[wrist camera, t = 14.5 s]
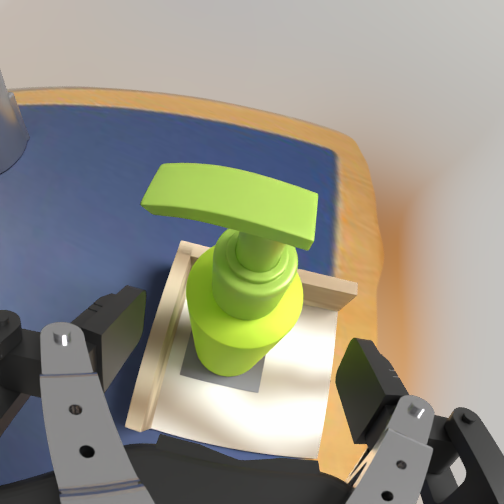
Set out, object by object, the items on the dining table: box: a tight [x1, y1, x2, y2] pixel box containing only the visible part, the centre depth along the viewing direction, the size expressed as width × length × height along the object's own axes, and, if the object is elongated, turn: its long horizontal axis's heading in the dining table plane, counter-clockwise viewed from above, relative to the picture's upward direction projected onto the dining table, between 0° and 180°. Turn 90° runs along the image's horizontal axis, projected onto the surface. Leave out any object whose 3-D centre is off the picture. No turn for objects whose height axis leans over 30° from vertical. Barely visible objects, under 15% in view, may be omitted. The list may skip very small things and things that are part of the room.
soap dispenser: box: [140, 163, 318, 377], centre depth 17 cm, size 6×7×20 cm
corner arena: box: [125, 241, 358, 459], centre depth 24 cm, size 16×16×5 cm
